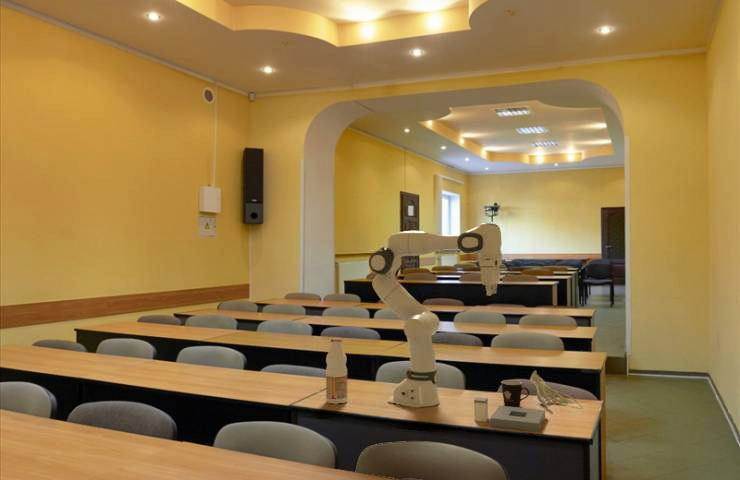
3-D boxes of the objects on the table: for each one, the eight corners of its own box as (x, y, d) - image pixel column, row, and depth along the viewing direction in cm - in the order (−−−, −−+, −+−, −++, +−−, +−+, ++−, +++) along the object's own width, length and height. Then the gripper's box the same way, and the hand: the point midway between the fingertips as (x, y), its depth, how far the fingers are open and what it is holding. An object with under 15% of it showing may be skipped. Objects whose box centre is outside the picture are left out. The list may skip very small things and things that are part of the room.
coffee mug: (497, 404, 247) (497, 381, 247) (514, 402, 250) (514, 379, 250) (513, 411, 236) (513, 387, 236) (531, 409, 239) (530, 385, 239)
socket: (490, 426, 218) (490, 418, 218) (499, 412, 234) (499, 405, 234) (539, 431, 211) (538, 423, 211) (545, 417, 227) (545, 410, 227)
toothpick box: (474, 420, 225) (474, 400, 225) (477, 417, 229) (476, 397, 229) (485, 421, 223) (485, 401, 223) (488, 418, 227) (487, 398, 227)
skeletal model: (552, 414, 232) (523, 363, 249) (543, 426, 238) (515, 376, 255) (584, 409, 238) (553, 359, 255) (574, 421, 243) (545, 372, 261)
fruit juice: (322, 403, 252) (321, 339, 252) (332, 398, 261) (331, 336, 261) (341, 405, 248) (340, 341, 248) (351, 400, 257) (350, 337, 257)
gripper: (488, 260, 251) (489, 292, 250) (477, 262, 232) (478, 296, 232) (503, 260, 248) (503, 292, 248) (493, 262, 229) (494, 296, 229)
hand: (491, 294), depth 240 cm, fingers open, 8 cm apart
